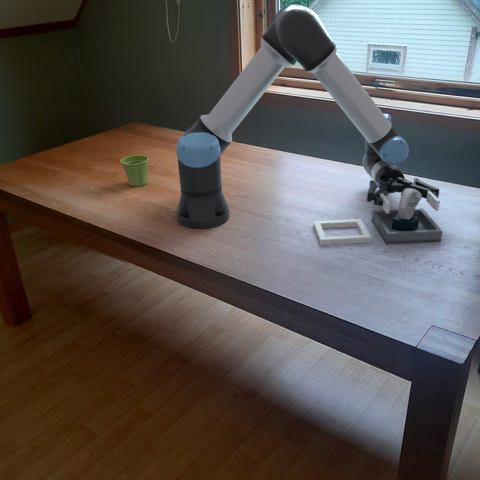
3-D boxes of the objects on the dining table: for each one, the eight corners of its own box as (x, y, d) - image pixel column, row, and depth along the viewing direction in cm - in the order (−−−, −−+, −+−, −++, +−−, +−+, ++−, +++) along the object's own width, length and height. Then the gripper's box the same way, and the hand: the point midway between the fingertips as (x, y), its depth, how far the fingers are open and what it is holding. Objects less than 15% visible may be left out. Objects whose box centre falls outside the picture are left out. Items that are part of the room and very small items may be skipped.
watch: (420, 224, 138) (425, 186, 133) (409, 236, 133) (414, 197, 128) (399, 220, 141) (404, 182, 136) (388, 231, 136) (393, 192, 131)
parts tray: (386, 244, 131) (387, 233, 130) (371, 220, 144) (372, 211, 142) (440, 241, 131) (442, 231, 130) (421, 218, 144) (422, 208, 143)
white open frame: (320, 245, 132) (320, 239, 132) (313, 226, 142) (313, 221, 141) (371, 242, 132) (371, 237, 132) (360, 223, 142) (360, 218, 142)
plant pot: (127, 190, 170) (123, 165, 166) (121, 181, 178) (117, 157, 174) (154, 185, 174) (152, 161, 170) (147, 177, 181) (144, 153, 177)
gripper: (427, 187, 152) (457, 218, 132) (345, 191, 151) (364, 222, 132) (430, 162, 148) (462, 190, 129) (347, 166, 148) (366, 195, 128)
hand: (413, 207), depth 130 cm, fingers open, 12 cm apart
